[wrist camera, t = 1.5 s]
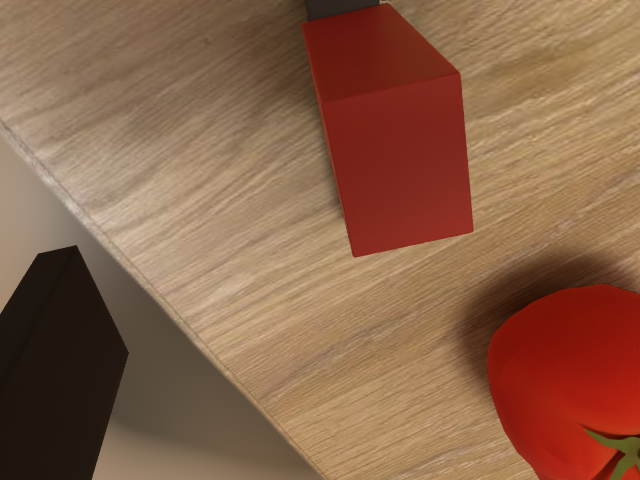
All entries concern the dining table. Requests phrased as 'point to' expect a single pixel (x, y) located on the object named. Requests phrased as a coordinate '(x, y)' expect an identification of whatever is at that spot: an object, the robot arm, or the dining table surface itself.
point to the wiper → (388, 125)
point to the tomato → (572, 383)
